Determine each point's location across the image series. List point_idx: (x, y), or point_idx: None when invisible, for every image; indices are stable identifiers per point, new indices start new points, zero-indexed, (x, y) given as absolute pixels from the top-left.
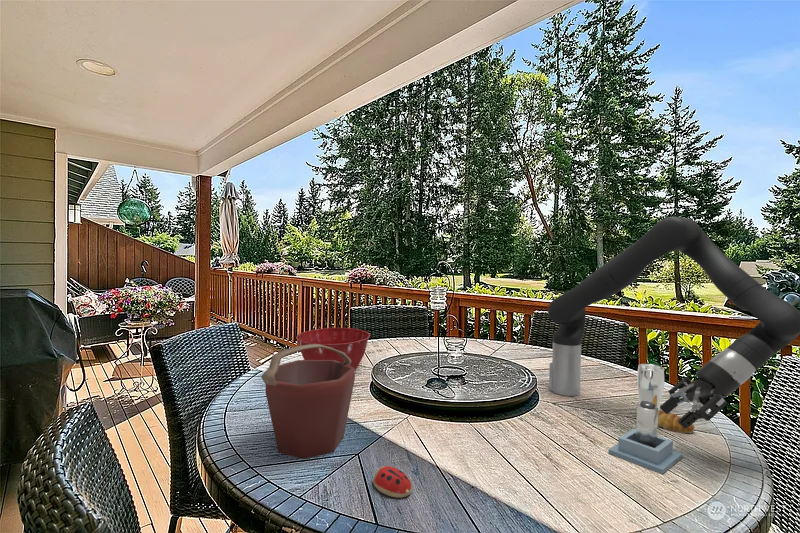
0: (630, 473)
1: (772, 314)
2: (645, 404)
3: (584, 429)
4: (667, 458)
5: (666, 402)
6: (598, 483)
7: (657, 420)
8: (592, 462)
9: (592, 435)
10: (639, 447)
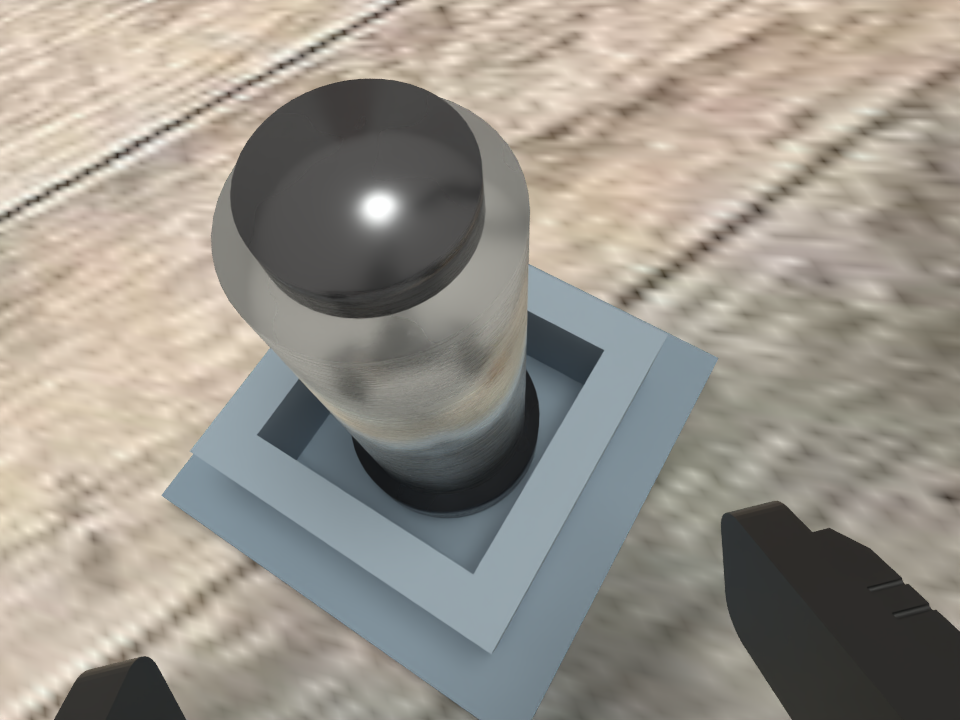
0: (153, 308)
1: None
2: (290, 138)
3: (735, 101)
4: (365, 575)
5: (825, 605)
6: (18, 151)
7: (343, 411)
8: (247, 132)
9: (652, 141)
10: None
